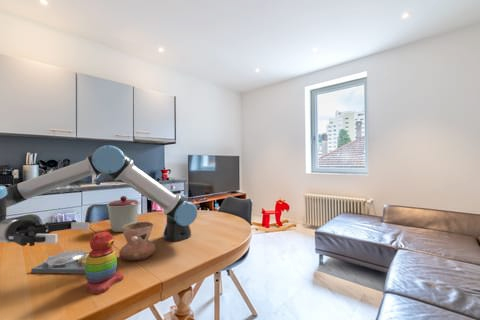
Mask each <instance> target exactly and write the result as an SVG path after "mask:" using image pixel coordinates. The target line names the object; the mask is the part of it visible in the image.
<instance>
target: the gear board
mask: <svg viewBox="0 0 480 320" xmlns="http://www.w3.org/2000/svg"><path fill="white" fill-rule="evenodd" d="M90 252H91V251H88V254H86V255H85V256H84V257H82V258H79V259H78V262H76V263H73V264H70V266H67V267H65V266H62V267H55V268H53V269H48V266H43V262H42V263H40V264H38V265H36V266H34V267H31V268H30V269H31V271H30V272H31V273H33V274H34V273H35V274H38V273H39V274H40V273H44V274H45V273H46V274H85V264H86V260H87V256H88V255H89V253H90ZM115 254H116V255H117V253H116V252H115Z"/></svg>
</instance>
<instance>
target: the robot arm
mask: <svg viewBox="0 0 480 320" xmlns="http://www.w3.org/2000/svg"><path fill="white" fill-rule="evenodd" d="M101 174H105V175H106V176H108V177H109V178H110V179H112V180H114V181H122V182H123V183H124V184H126V185H127V186H129V187H131V188H132V189H134V190H135V191H136V192H138V193H139V194H141V195H142V196H144V197H145V198H147V199H148V200H150V202H152V203H154V204H155V205H156V206H158V207H160V208H161V209H163V214H164V215H165V216H166V224H165V227H164V231H163V234H162V237H163V238H162V239H163V240H165V241H170V242H176V241H177V242H178V241H183V240H187V239H189V238H190V237H192V230H191V227H190V225H192V224H193V223H194V222H195V221H196V219H197V218H198V208H197V205H195V204H194V202H191V201H189V198H188V197H189V196H188V195H187V194H183V195H181V194H179V193H177V194H174V193H173V192H172V191H171V190H169V189H168V188H167V187H165V186H163V185H162V184H161V183H160V182H158V181H157V180H156V179H154V178H153V177H152V176H150V175H148V174H147V173H146V172H145V171H143V170H142V169H140V168H138V167H137V166H136V165H135V164H134V160H133V159H132V158H131V157H129V155H127V154H126V153H124V152H123V151H122V150H121V149H120V148H119V147H117V146H115V145H110V144H107V145H103V146H100V147H99V148H97V149H95V151H94V152H93V153H92V155H89V156H87V157H86V158H85V159H84V160H81V161H79V162H75V163H72V164H69V165H67V166H64V167H61V168H57V169H56V170H53V171H50V172H46V173H45V174H41V175H39V176H36V177H33V178H30V179H27V180H25V181H22V182H19V183H15V184H13V185H10V186H8V187H6V186H5V185H0V243H1V242H3V243H5V242H6V243H7V244H10V243H16V244H17V245H19V246H21V247H25V246H27V245H28V244H29V245H28V246H29V247H34V246H35V244H57V243H58V233H53V232H60V231H64V230H65V231H66V230H71V231H89V230H90V222H87V221H86V222H85V221H84V222H83V221H82V222H81V221H77V220H75V219H72V220H66V221H65V220H64V221H54V222H52V221H51V222H45V223H37V224H36V223H35V221H33V220H30V219H7V210H8V209H7V208H9V207H13V206H14V205H18V204H20V203H22V202H25V201H27V200H30V199H33V198H35V197H37V196H40V195H43V194H45V193H49V192H50V191H52V190H56V189H58V188H61V187H63V186H66V185H69V184H72V183H74V182H77V181H79V180H82V179H85V178H87V177H90V176H92V175H94V176H98V175H101Z"/></svg>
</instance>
